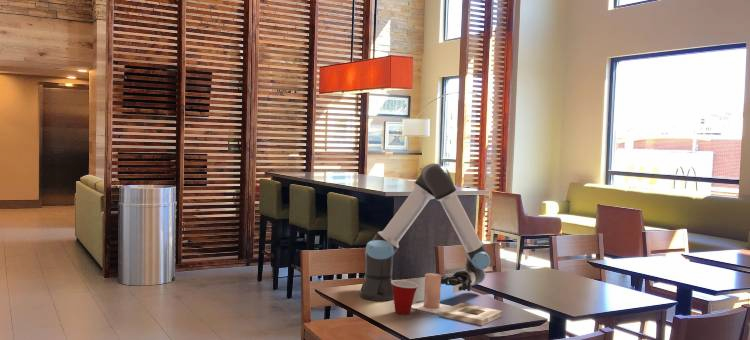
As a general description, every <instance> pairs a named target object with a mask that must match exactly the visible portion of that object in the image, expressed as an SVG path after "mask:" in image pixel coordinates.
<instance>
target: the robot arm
mask: <svg viewBox="0 0 750 340" xmlns="http://www.w3.org/2000/svg"><path fill="white" fill-rule="evenodd" d="M413 185H414V189H412V190H411V192H410V194H409V195H408V197H407V198H406V199H405V200H404V202H403V203H402V205H401V206H400V207H399V208H398V210H397V211H396V213H395V214H394V216H393V217H392V218H391V219H390V220H389V222H388V224H387V225H386V226H385V228H383V230H381V231H377V232H376V234H375V235H374V237H373V238H372V239H371V240H370V241H368V242H367V243H366V245H365V249H364V250H365V251H364V256H365V266H364V267H365V269H364V280H363V281H362V285H361V288H360V290H359V297H360V298H362V299H364V300H369V301H378V302H383V301H391V300H394V297H393V288H392V284H391V281H393V266H394V265H393V264H394V263H393V262H394V255H395V253H396V252H397V251H398V249H399V248H400V245H399V242H400V241H401V239H402V238H403V236H405V234H406V232H407V231H408V230H409V229H410V227H411V226H412V225H413V223H414V222H415V221H416V219H417V218H418V216H419V215H420V214H421V212H422V211H423V210H424V208H425V207H426V205H427V204H428V203H429V201H430V200H434V199H435V200H436V201H438V202H440V204H441V206H442V208H443V210H444V211H445V214H446V215H447V217H448V219H449V221H450V223H451V225H452V227H453V229H454V231H455V233H456V235H457V236H458V239H459V241H460V242H461V244H462V246H463V248H464V250H465V252H466V255H465V256H466V257H465V269H462V270H459V271H456V272H455V273H453V275H452V276H447V275H441V285H445V286H452V294H456V293H460V292H462V291H466V290H467V291H468V292H471V287H473V286H475V285H479V284H480V283H483V282H484V280H486V277H487V276H486V275H487V273H486V271H485V270H486V269H488V267H489V266H490V265H491V257H490V256H489V254H488V253H487V251H486V249H485V247H484V243H483V242H482V241H481V240H480V238H479V235H478V234H477V231H476V230H475V228H474V225H473V224H472V222H471V220H470V219H469V216H468V214H467V212H466V210H465V208H464V207H463V204H462V202H461V200H460V198H459V196H458V195H457V191H458V189H457V187H456V185H455V184H454V181H453V179H452V175H451V174H450V171H449V170H448V169H447V168H446V167H445V166H444V165H442V164H439V163H430V164H428V165H426V166H424V167H423V168H422V170H421V172H420V174H419V176H418V177H417V178H416V179H415V181H414V184H413ZM423 282H424V283H423V284H424V286H423V287H424V288H425V281H423Z"/></svg>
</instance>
